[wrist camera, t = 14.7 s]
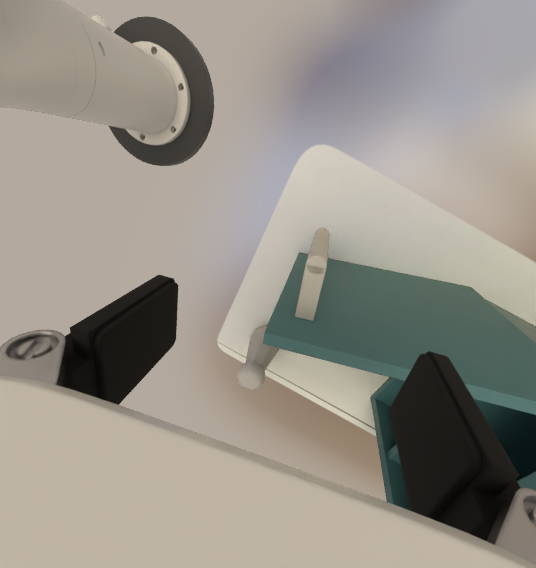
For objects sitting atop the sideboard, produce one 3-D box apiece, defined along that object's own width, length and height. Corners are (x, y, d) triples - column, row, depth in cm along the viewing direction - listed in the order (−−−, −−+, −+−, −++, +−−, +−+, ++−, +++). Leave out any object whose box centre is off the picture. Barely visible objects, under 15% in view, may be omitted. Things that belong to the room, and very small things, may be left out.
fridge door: (306, 213, 41) (275, 262, 20) (492, 246, 37) (707, 352, 16) (297, 259, 44) (262, 343, 23) (467, 294, 40) (618, 436, 19)
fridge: (370, 396, 52) (395, 560, 30) (474, 293, 40) (637, 439, 18) (451, 441, 52) (536, 639, 30) (580, 350, 40) (873, 567, 18)
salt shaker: (288, 335, 51) (275, 385, 39) (270, 352, 53) (252, 402, 42) (265, 316, 50) (245, 360, 39) (248, 333, 53) (223, 379, 41)
